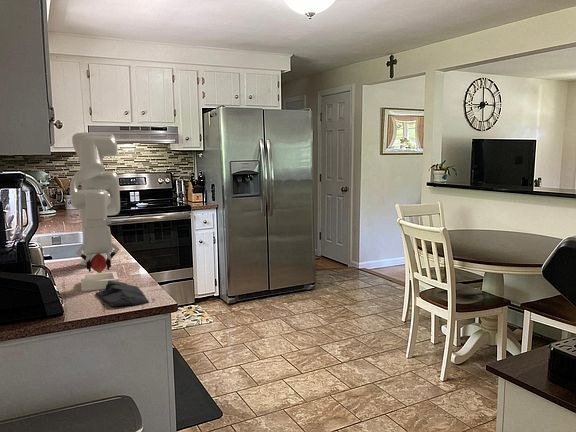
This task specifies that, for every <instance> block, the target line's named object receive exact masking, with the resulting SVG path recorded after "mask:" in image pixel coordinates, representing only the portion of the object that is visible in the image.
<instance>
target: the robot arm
mask: <svg viewBox="0 0 576 432" xmlns="http://www.w3.org/2000/svg"><path fill="white" fill-rule="evenodd" d="M71 140H72V147H73V149H74V151H75V154H76V155H77V158H78V160H79V168H80V169H79V170H77V172H75V174H74V175H73V176H72V177H71V181H70V184H69V196H70V204H71V206H72V208H74V209H76V210H79V213H80V218H81V228H82V245H81V246H80V247H79V248H78V249H77V250H76V251H75V254H76V255H78V256H79V257H80V258H82V260H81V261H80V265H81V266H83V267H86V270H88V272H89V273H91V271H92V268H91V260H92V258H93V257H94V256H95V255H96V254H99V253H100V255H102V256H103V257H104V258H105V259H106V261H107V266H106V270H108V271H110V268H112V259H113V258H114V257H115V256H116V254H117V253H118V252H120V247H118V246H117V245H115V243H113V240H112V233H111V227H110V226H108V225H109V224H112V219H108V216H116V215H119V213H120V211H121V197H120V196H121V195H120V192H121V191H120V180H119V176H118V174H117V173H116V172H115V171H111V170H107V171H106V170H104V169H105V168H104V158H103V157H115V156H116V155H117V154H118V142H117V139H116V137H115V135H114V134H113V133H110V132H83V131H82V132H76V133H74V134H73V135H72V137H71ZM79 186H81V188H82V189H79ZM113 249H114V250H113ZM110 252H111V253H110Z"/></svg>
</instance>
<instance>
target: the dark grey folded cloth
mask: <svg viewBox="0 0 576 432" xmlns="http://www.w3.org/2000/svg"><path fill="white" fill-rule="evenodd" d="M95 295H97V296H98V297H99V298H100V299H101V300H102V301H104V302H105V303H107V304H108V305H109V306H111V307H115V306H116V307H120V306H121V307H123V306H135V304H138V305H145V304H144V303H146V304H148V302H149V303H150V301H149V300H148V298H147V297H146V295H145V294H144V292H142V290H141V289H140V288H139V287H138V286H135V285H130V284H128V283H127V282H126V283H125V282H122V281H119V282H115V281H108V284H107V285H106V289H103V290H98V291H97V292H96V291H95Z"/></svg>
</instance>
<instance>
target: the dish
mask: <svg viewBox="0 0 576 432" xmlns="http://www.w3.org/2000/svg"><path fill="white" fill-rule="evenodd" d="M108 281H115V282H120V278H119V276H118V273H117V271H116V270H115V271H106V272H101V273H98V272H95V273H87V274H86V273H84V274H80V286H81V287H80V288H81V292H88V291H97V290H98V291H100V290H106V285H107V284H108Z"/></svg>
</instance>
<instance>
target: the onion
mask: <svg viewBox="0 0 576 432" xmlns="http://www.w3.org/2000/svg"><path fill="white" fill-rule="evenodd" d="M106 268H107V261H106V259H105V258H104V257H103V256H102V255H100V253H99V254H96V255H95V256H94V257H93V258H92V260H91V270H93V271H95V273H103V272H102V271H104V270H105V269H106Z"/></svg>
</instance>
